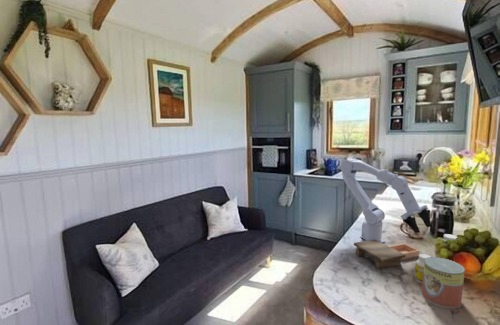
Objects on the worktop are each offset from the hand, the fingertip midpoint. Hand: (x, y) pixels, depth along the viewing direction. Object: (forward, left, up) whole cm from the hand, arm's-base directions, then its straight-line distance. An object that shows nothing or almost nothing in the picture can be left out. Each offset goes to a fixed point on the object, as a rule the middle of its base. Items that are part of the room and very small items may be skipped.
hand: (423, 229), depth 127 cm
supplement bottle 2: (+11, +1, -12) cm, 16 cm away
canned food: (+26, -23, -12) cm, 37 cm away
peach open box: (-3, -8, -12) cm, 14 cm away
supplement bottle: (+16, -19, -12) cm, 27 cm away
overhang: (-3, -22, -12) cm, 25 cm away
